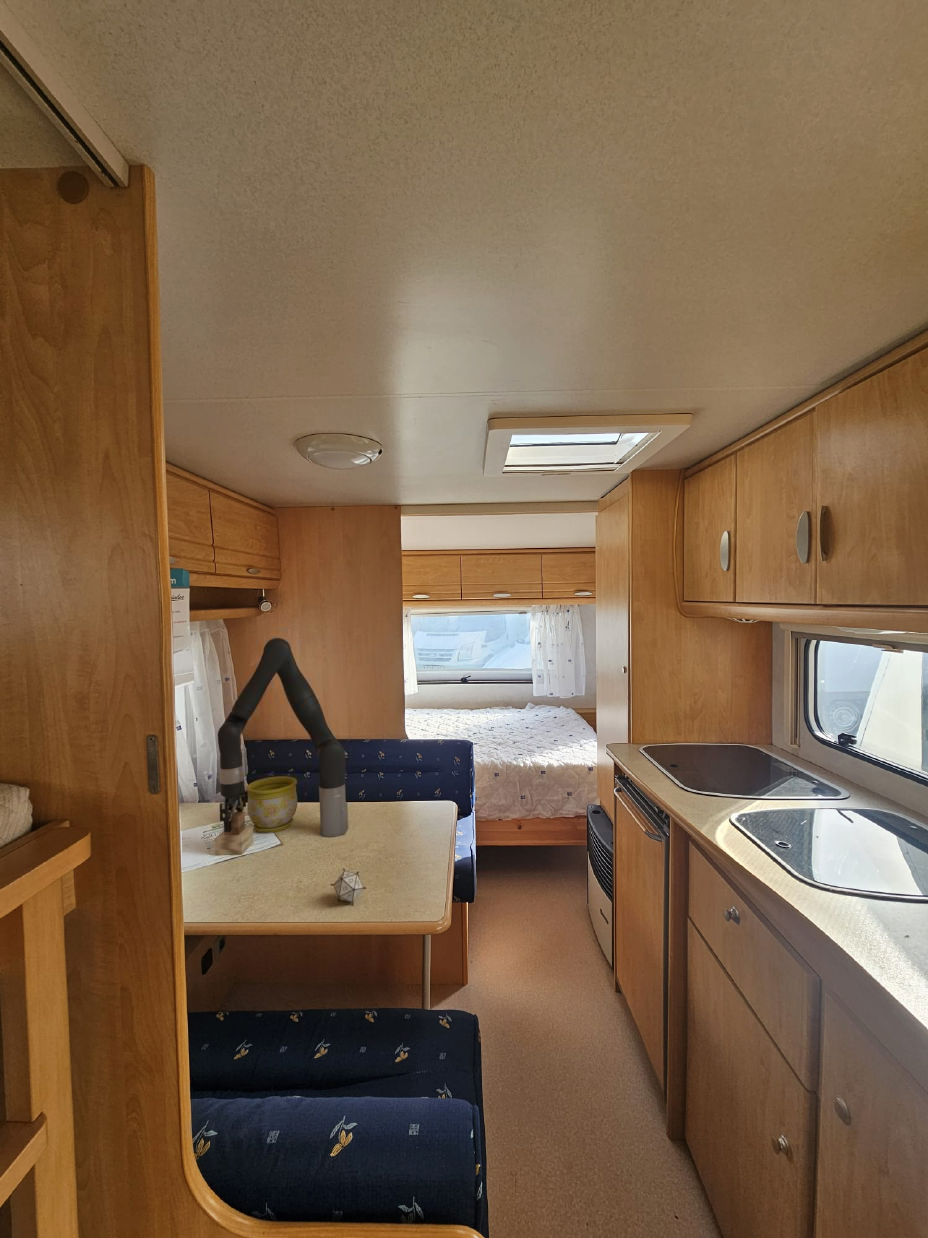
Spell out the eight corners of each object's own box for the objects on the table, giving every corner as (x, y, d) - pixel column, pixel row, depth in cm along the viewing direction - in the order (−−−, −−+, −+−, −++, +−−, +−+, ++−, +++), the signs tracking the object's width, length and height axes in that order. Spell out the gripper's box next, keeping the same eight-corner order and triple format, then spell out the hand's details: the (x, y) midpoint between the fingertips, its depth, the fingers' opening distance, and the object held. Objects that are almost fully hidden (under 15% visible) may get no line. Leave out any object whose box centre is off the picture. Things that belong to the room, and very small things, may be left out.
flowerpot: (280, 814, 210) (278, 773, 210) (308, 823, 200) (306, 780, 200) (238, 830, 196) (236, 786, 196) (266, 840, 185) (264, 794, 185)
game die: (344, 912, 144) (334, 875, 149) (372, 899, 145) (362, 862, 150) (332, 912, 136) (323, 873, 141) (363, 898, 137) (352, 860, 142)
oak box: (253, 843, 183) (252, 826, 183) (242, 855, 174) (241, 837, 174) (228, 844, 183) (227, 827, 183) (215, 856, 174) (214, 838, 174)
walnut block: (245, 829, 182) (244, 811, 182) (238, 835, 177) (238, 817, 177) (230, 829, 182) (230, 812, 182) (224, 835, 177) (223, 817, 177)
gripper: (233, 786, 172) (235, 835, 172) (251, 773, 186) (253, 818, 186) (210, 786, 172) (212, 836, 172) (231, 773, 186) (232, 819, 186)
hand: (234, 826), depth 179 cm, fingers open, 8 cm apart
